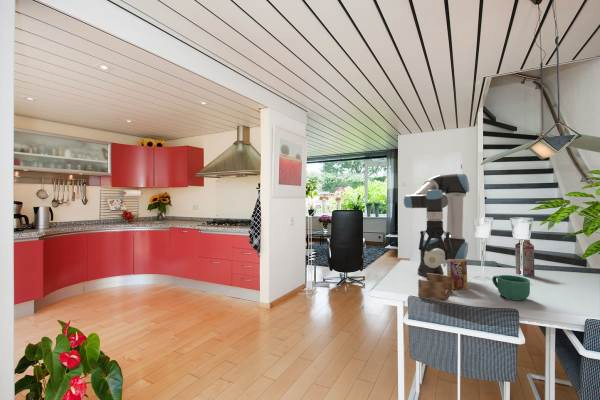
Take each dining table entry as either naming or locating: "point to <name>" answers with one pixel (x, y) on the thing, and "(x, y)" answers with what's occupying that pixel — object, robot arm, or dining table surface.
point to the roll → (434, 258)
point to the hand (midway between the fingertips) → (435, 265)
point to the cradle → (435, 286)
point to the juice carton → (525, 258)
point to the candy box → (457, 273)
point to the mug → (512, 286)
